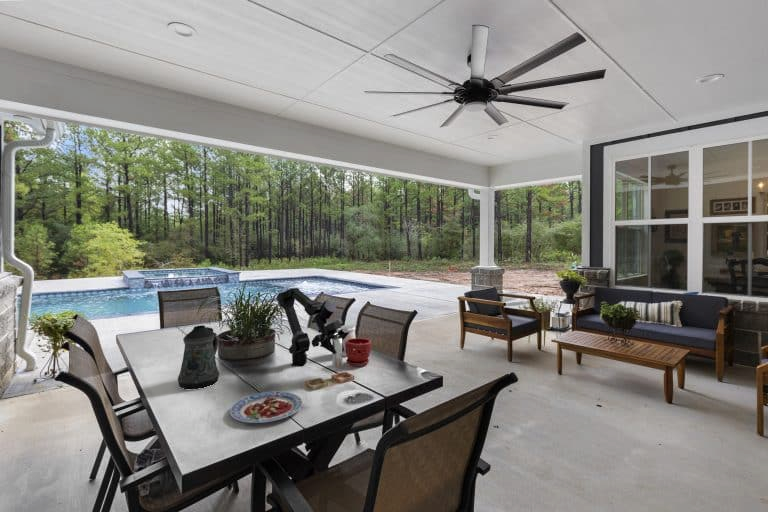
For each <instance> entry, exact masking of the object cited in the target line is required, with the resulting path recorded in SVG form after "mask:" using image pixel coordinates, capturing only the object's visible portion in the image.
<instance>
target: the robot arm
mask: <svg viewBox="0 0 768 512" xmlns="http://www.w3.org/2000/svg"><path fill="white" fill-rule="evenodd" d="M276 300H277V303H278V305H279V306H280V308H281V309H283V310H284V312H285V315H286V318H287V321H288V324H289V327H290V330H291V333H292V338H291V345H290V346H289V348H288V353H289V354H292V355H291V361H292V362H291V364H290V365H291V366H293V367H297V366H298V367H302V366H303V367H304V366H305V365H306V364H307V363H308V354H307V352H308V351H309V350H310V346H311V345H312V347H313V348H316V347H322V349H323V348H324V349H325V350H326V351H329V352H330V353H331V354H332V355H333V354H336V351H335V349H334V347H333V345H332V341H331V340H332V339H333V338H342V352H344V347H343V339H345V337H346V336H347V335H348V334H349V331H348V329H346V328H345V329H341V330H340V331H339V332H338V331H337V329H339V328H341V326H344V323H343V320H342V319H337V320H336V321H333V322H331V321H329V320H328V319H331V317H332V316H333V315H334V313H335V312H336V310H337V306H336V304H334V303H332V302H330V301H329V300H324V301H323V303H321V302H320V301H319V300H314V299H311V298H310V297H309V296H307V295H306V294H305V293H303V292H302V291H301V290H300V289H299V287H298V288H297V287H294V288H293V287H292V288H289V289H287V290H285V291H283V292H282V291H281V292H278V294H277V295H276ZM296 301H297V303H299V304H300V305H301V306H303V308H304V312H305V313H306V314H307V315H308V316H310V317H311V316H313V317H312V320H311V324H316V326H317V328H318V330H317V331H318V333H319V334H316V335H314V337H313V338H312V341H310V338H309V335H308V332H304V331H303V329H302V327H301V323H300V320H299V317H298V315H297V312H296V309H295V306H294V305H295V303H296ZM337 332H338V333H337ZM320 333H321V334H320Z"/></svg>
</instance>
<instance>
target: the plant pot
mask: <svg viewBox="0 0 768 512" xmlns="http://www.w3.org/2000/svg"><path fill="white" fill-rule="evenodd" d="M371 349H372V341H371V339H367V338H362V337H361V338H360V337H359V338H358V337H357V338H356V337H355V338H353V339H348V340H346V342H345V350H346V355H347V356H346V358H347V359H346V360H345V361H346V364H348V365H349V366H352V367H362V366H363V367H364V366H366V365H368V364H369V362H370V359H369V357H370V354H371Z"/></svg>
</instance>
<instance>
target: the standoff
mask: <svg viewBox="0 0 768 512" xmlns="http://www.w3.org/2000/svg"><path fill="white" fill-rule="evenodd" d="M331 340H332V341H331V344H332V345H333V347H334V349H335V351H336V354H333V353H332V366H333V367H341V366H343V356H342V338H333V339H331Z"/></svg>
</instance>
